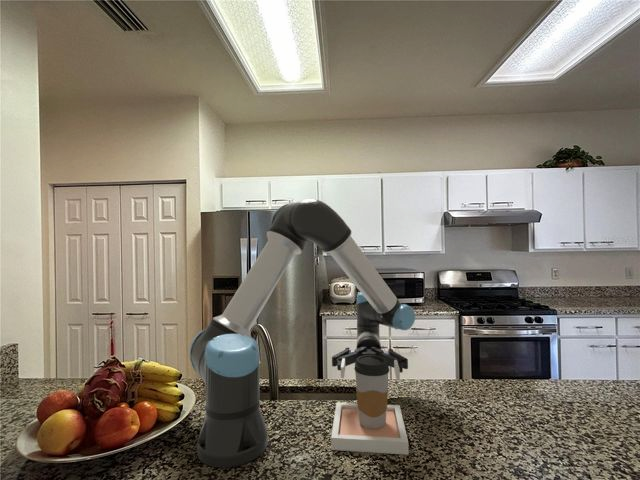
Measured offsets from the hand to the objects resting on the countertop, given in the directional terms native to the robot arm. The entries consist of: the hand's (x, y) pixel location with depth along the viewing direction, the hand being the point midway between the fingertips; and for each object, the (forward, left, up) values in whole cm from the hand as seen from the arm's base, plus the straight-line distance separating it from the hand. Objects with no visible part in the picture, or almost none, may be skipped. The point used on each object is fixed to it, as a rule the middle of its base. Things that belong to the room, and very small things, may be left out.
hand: (369, 373), depth 82 cm
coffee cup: (0, -2, -11) cm, 11 cm away
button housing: (-1, -2, -13) cm, 13 cm away
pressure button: (-1, -2, -12) cm, 12 cm away
